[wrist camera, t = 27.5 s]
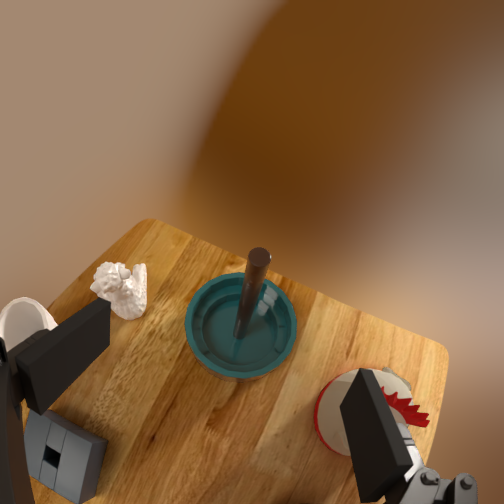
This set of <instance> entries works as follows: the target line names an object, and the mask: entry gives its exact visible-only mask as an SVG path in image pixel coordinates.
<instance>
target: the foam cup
mask: <svg viewBox="0 0 504 504" xmlns="http://www.w3.org/2000/svg"><path fill="white" fill-rule="evenodd" d="M56 326H58V325H57V323H56V322H55V321H54V319H53V317H52V316H51V315H50V313H49V312H48V311H47V310H46V309H45V308H44V307H43V306H42V305H41V304H40V303H38V302H37V301H36V300H33V299H30V298H27V297H21V298H18V299H14V300H12V301H11V302H10V303H9V304H8V305H7V306H5V308H3V310H2V312H1V314H0V337H1V338H2V339H3V340H4V341H5V346H6V351H7V352H8V351H9V350H11V349H12V348H13V347H15V346H16V345H18V344H19V343H21V342H22V341H24V340H25V339H26V338H28V337H30V336H31V335H32V334H34V333H35V332H37V331H39V330H43V329H46V328H47V329H49V330H52V329H54V328H55V327H56Z"/></svg>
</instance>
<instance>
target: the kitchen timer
mask: <svg viewBox="0 0 504 504" xmlns="http://www.w3.org/2000/svg"><path fill="white" fill-rule="evenodd" d="M358 370H359V369H355V370H352V371H349V372H346V373H344V374H341V375H339V376H337V377H336V378H335V379H333V380H332V381H330V382H329V383H328V384H327V385H326V387H325V388H324V389H323V390H322V391H321V393H320V395H319V398H318V400H317V402H316V405H315V411H314V423H315V430H316V432H317V434H318V436H319V438H320V440H321V441H322V442H323V443H324V444H325V446H326V447H327V448H328V449H330V450H332V451H334V452H336V453H338V454H341V455H347V456H351V454H350V450H349V445H348V441H347V437H346V432H345V428H344V424H343V420H342V416H341V412H340V408H339V406H340V404H341V403H342V401H343V399H344V397H345V395H346V393H347V391H348V390H349V388H350V386H351V384H352V382H353V380H354V378H355V376H356V374H357V372H358ZM370 370H372V371H373V373H374V375H375V377H376V379H377V381H378V383H379V385H380V388H381V390H382V392H383V394H384V396H385V398H386V401H387V403H388V405H389V407H390V409H391V412H392V414H393V416H394V418H395V421H396V423H403V424H404V426H405V427H406V428H407V429H408V426H409V424H410V425H414V426H419V427H427V425H428V424H429V422H430V421H429V420H426V418H427V417H428V415H429V414H428V413H419V412H417V410H418V408H419V407H420V405H414V404H413V398H412V395H411V393H410V391H411V385H410V384H409V382H408V381H406V380H405V379H403V378H401V377H399V376H398V375H397V374H395V373H394V372H393V371H392V370H391V369H390V368H387V367H384V368H383V369H382V371H380V370H376V369H370Z"/></svg>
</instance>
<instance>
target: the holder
mask: <svg viewBox="0 0 504 504" xmlns="http://www.w3.org/2000/svg"><path fill="white" fill-rule="evenodd" d="M24 444H25V452H26V459H27V466H28V472H29V475H31V476H32V477H33V478H35V479H36V480H38V481H39V482H41V483H42V484H44V485H45V486H47V487H48V488H50V489H51V490H53V491H55V492H56V493H58V494H59V495H61V496H63V497H64V498H66V499H68V500H70V501H71V502H73V503H75V504H82V503H84V502H86V501H88V500H90V499H91V498H93V497H95V492H96V488H97V484H98V479H99V475H100V471H101V467H102V463H103V459H104V455H105V451H106V448H107V444H108V440H106V439H103V438H101V437H99V436H97V435H95V434H93V433H91V432H89V431H87V430H85V429H83V428H82V427H80V426H78V425H76V424H74V423H72V422H71V421H69V420H67V419H65V418H64V417H62V416H60V415H58V414H57V413H55V412H53V411H52V410H46V411H45V412H44V413H43V414H42V415H41V416H40V415H39V414H37V413H36V412H34V411H33V410H31V409H30V412H29V416H28V420H27V424H26V428H25V432H24Z"/></svg>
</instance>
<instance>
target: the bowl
mask: <svg viewBox="0 0 504 504" xmlns="http://www.w3.org/2000/svg"><path fill="white" fill-rule="evenodd" d="M244 275H245V273H241V272H238V273H231V274H224V275H221V276H219V277H216V278H214V279H212V280H210V281H208V282H207V283H206V284H204V285H203V286H202V287H201V288H200V289H199V290H198V291H197V292H196V293H195V294H194V296H193V298H192V300H191V301H190V303H189V305H188V307H187V312H186V317H185V330H186V336H187V341H188V344H189V346H190V349H191V351H192V353H193V355H194V356H195V358H196V360H197V362H198V363H199V364H200V365H201V366H202V367H203V368H204V369H205V370H206V371H207V372H208V373H209V374H211V375H213V376H215V377H217V378H220V379H222V380H224V381H229V382H238V383H244V382H249V381H254V380H258V379H260V378H262V377H264V376H265V375H267V374H269V373H270V372H272V371H273V370H274V369H276V368H277V367H278V366H279V365H280V364H281V363H282V362H283V361H284V359H285V358H286V357H287V356H288V355H289V354H290V352H291V350H292V347H293V344H294V342H295V339H296V332H297V319H296V316H295V312H294V309H293V305H292V304H291V302H290V301H289V299H288V298H287V296H286V295H285V293H284V292H283V291H282V290H281V289H280V288H278V287H277V286H276V285H275V284H273V283H272V282H271V281H269V280H267V279H264V282H263V285H262V288H261V291H260V294H259V297H258V300H257V303H256V306H255V309H254V312H253V315H252V318H251V320H250V323H249V326H248V329H247V332H246V335H245V337H244V338H243V339H241V340H238V339H236V338H235V337H234V336H233V331H234V326H235V321H236V316H237V311H238V306H239V300H240V295H241V290H242V285H243V280H244Z"/></svg>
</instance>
